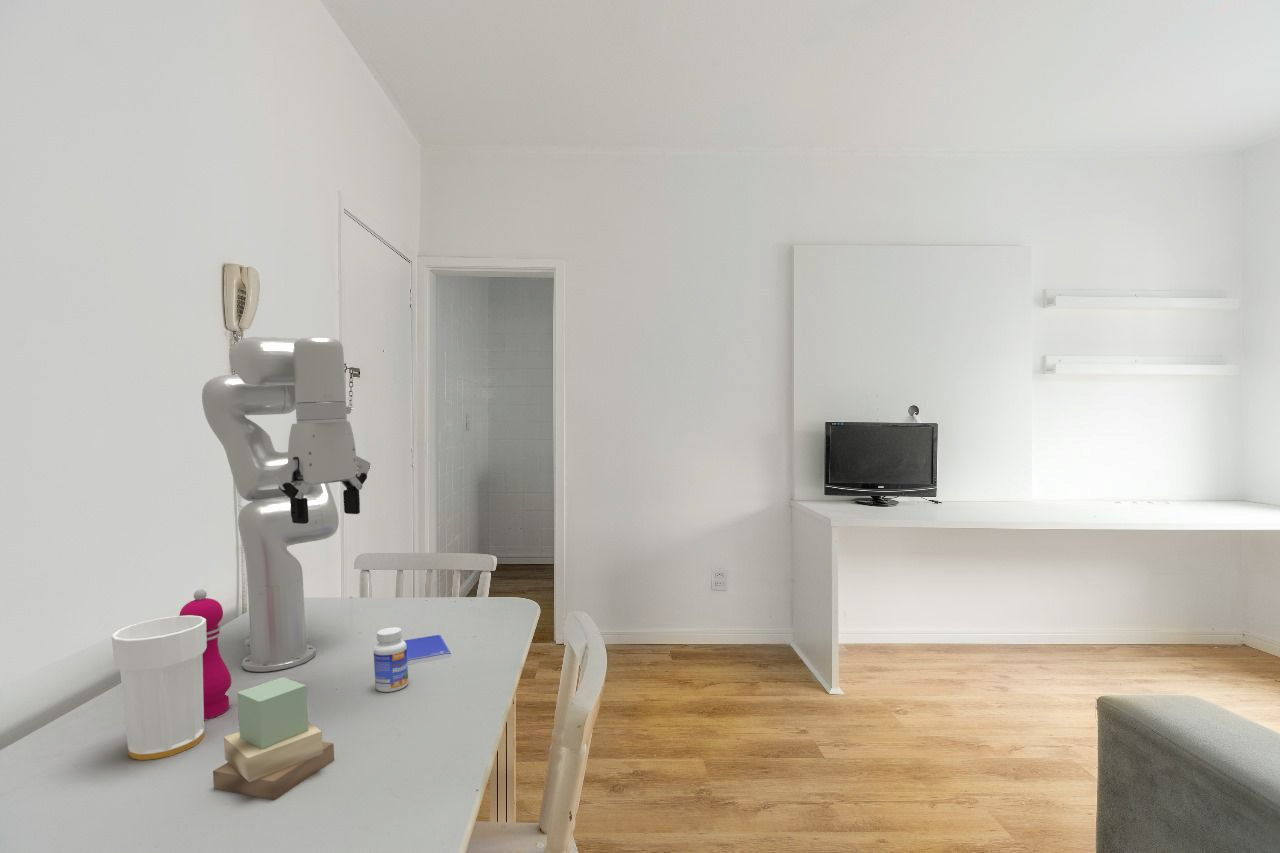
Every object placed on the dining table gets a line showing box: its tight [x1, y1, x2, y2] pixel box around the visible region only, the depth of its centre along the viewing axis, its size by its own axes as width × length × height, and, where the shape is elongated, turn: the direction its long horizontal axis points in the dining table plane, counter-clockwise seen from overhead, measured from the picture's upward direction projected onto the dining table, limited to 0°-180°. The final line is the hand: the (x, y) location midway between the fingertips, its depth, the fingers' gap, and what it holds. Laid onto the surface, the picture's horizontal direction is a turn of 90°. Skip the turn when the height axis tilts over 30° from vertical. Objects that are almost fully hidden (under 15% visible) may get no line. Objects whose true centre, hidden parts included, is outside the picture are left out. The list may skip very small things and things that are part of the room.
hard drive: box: [403, 634, 452, 666], centre depth 138 cm, size 2×8×12 cm
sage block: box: [236, 676, 309, 749], centre depth 92 cm, size 6×6×6 cm
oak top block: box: [223, 721, 323, 782], centre depth 93 cm, size 9×9×3 cm
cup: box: [111, 615, 207, 761], centre depth 102 cm, size 11×11×17 cm
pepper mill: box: [178, 589, 232, 720], centre depth 113 cm, size 7×7×20 cm
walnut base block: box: [212, 741, 335, 801], centre depth 93 cm, size 10×10×3 cm
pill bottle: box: [373, 626, 409, 693], centre depth 121 cm, size 5×5×10 cm
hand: (327, 518), depth 115 cm, fingers open, 9 cm apart
